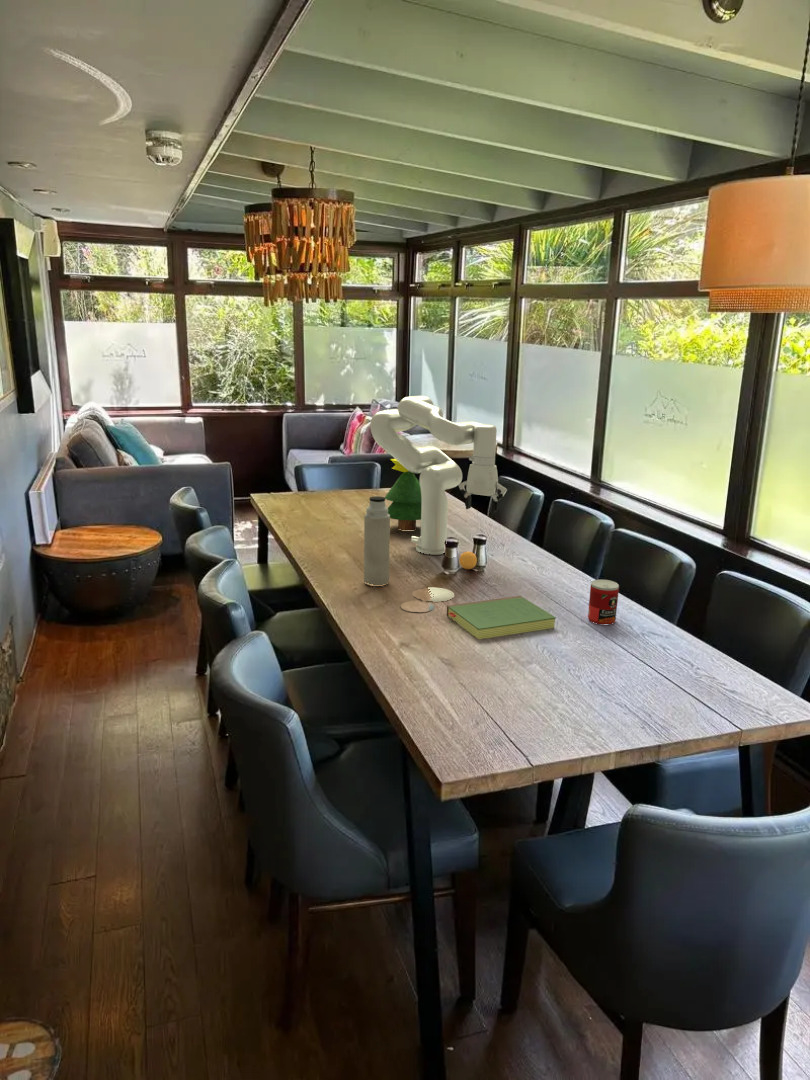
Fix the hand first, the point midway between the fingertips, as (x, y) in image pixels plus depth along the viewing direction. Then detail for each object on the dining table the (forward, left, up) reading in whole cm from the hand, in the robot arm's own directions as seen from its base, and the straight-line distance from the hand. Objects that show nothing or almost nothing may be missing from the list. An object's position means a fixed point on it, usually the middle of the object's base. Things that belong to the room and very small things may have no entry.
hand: (481, 510), depth 268 cm
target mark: (+1, -40, -19) cm, 44 cm away
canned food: (+51, -35, -19) cm, 65 cm away
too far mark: (+1, -52, -19) cm, 55 cm away
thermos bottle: (-20, -39, -19) cm, 47 cm away
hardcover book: (+26, -51, -19) cm, 60 cm away
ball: (0, -10, -16) cm, 18 cm away
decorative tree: (-42, +26, -19) cm, 53 cm away
